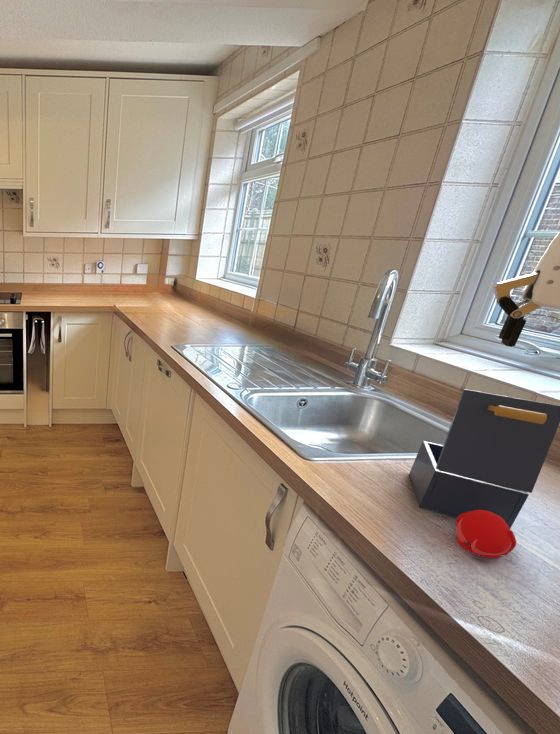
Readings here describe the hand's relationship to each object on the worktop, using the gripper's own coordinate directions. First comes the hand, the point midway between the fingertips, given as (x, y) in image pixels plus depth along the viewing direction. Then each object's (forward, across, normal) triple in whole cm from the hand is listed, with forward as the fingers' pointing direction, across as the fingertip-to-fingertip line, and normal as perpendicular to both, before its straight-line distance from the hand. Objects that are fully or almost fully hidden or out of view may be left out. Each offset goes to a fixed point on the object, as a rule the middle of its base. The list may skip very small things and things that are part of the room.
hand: (555, 350), depth 57 cm
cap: (+31, 0, +5) cm, 32 cm away
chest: (+31, 0, -10) cm, 33 cm away
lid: (+16, 0, -5) cm, 17 cm away
